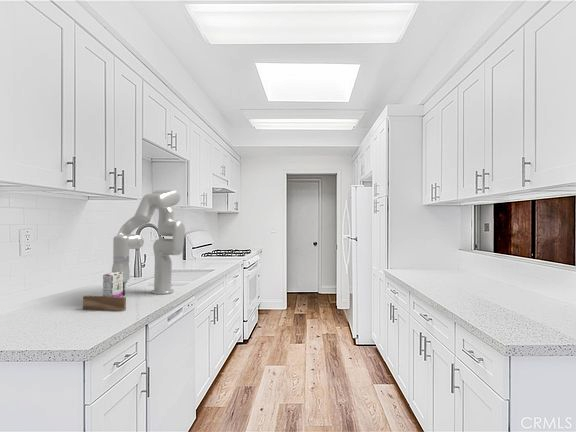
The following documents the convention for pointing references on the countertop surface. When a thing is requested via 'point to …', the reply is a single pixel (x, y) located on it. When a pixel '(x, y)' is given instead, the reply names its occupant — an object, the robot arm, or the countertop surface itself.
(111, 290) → the candy bar box
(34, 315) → the countertop surface
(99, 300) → the board
